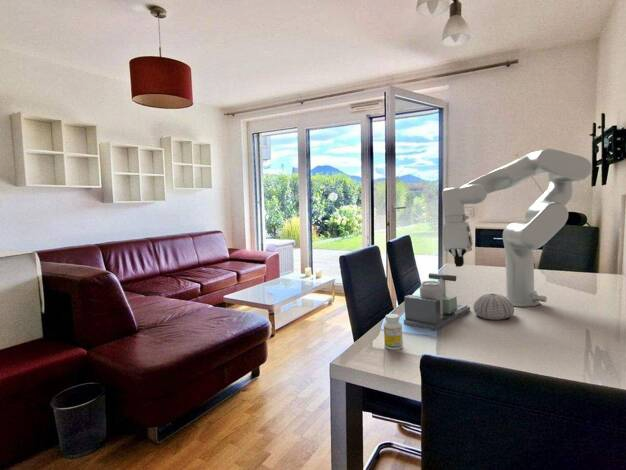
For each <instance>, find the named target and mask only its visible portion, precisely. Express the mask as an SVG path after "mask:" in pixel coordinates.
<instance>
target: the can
mask: <svg viewBox="0 0 626 470" xmlns="http://www.w3.org/2000/svg"><path fill="white" fill-rule="evenodd" d="M419 296H420V297H426V298H432V299H439V300H440V313H441V315H442V314H443V304H442V287H441V286H440V281H437V280H425V281H422V282H421V285H419Z"/></svg>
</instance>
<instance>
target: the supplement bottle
mask: <svg viewBox="0 0 626 470" xmlns="http://www.w3.org/2000/svg"><path fill="white" fill-rule="evenodd" d="M383 337H384V347H385V348H386V349H388V350H390V351H391V350H392V351H396V350H397V351H398V350H401V349H402V348H403V346H404V342H403V341H404V340H403V324H402V322H401V321H400V315H399V314H396V313H388V314H386V315H385V322H384V324H383Z"/></svg>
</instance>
